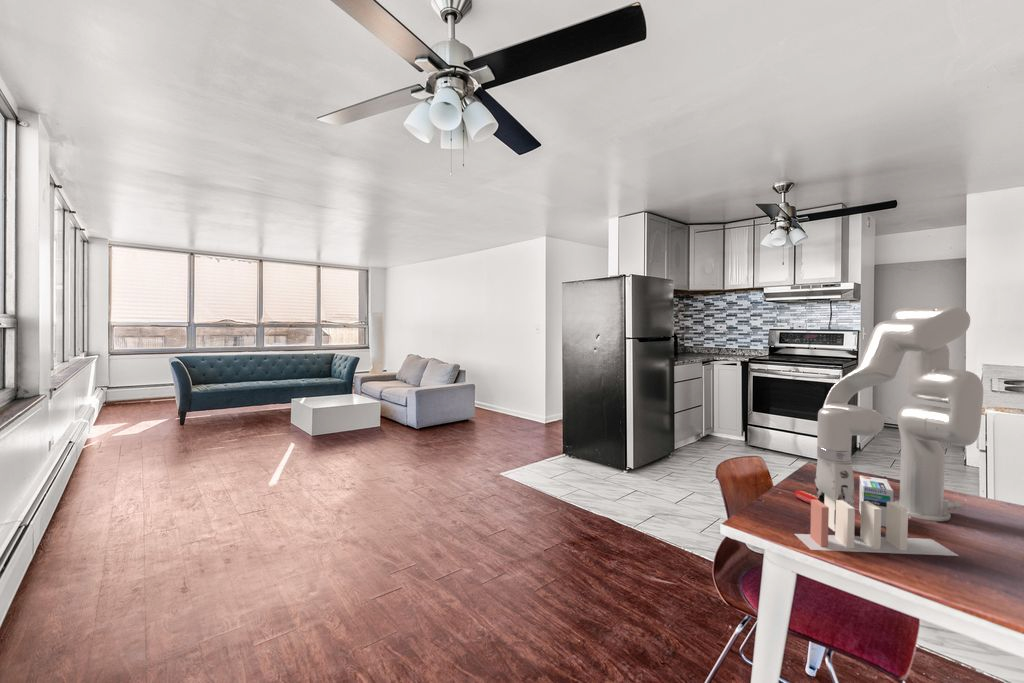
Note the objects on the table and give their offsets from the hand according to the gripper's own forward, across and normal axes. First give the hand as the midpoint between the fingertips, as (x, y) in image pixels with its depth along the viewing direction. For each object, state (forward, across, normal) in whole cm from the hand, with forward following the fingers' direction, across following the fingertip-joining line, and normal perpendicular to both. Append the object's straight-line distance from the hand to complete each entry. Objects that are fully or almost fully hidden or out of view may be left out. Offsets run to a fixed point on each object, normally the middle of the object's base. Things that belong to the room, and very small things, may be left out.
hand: (832, 518), depth 125 cm
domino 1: (+3, -9, +8) cm, 12 cm away
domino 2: (+3, 0, 0) cm, 3 cm away
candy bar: (+3, +16, -4) cm, 17 cm away
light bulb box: (+3, +7, -15) cm, 17 cm away
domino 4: (+2, -9, -4) cm, 10 cm away
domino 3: (+3, -9, +2) cm, 10 cm away
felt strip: (+3, -9, -4) cm, 10 cm away
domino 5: (+2, -9, -10) cm, 14 cm away
